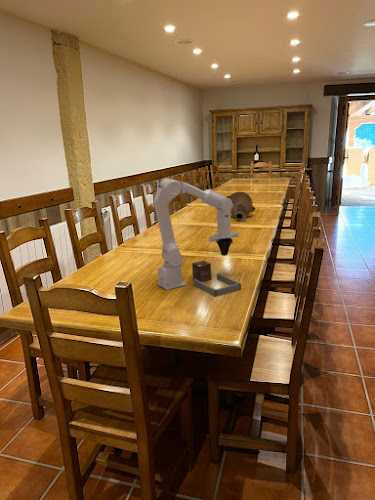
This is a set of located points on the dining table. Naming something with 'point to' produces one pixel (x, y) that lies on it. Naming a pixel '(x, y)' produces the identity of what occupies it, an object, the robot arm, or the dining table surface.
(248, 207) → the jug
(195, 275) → the box
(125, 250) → the dining table surface
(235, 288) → the grey arch frame
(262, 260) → the dining table surface
